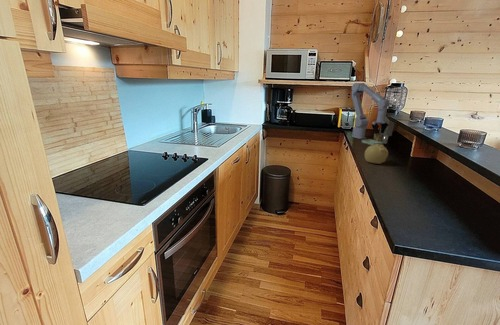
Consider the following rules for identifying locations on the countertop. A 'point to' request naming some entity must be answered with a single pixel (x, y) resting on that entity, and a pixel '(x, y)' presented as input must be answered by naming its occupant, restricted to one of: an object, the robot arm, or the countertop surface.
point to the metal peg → (385, 139)
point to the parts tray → (371, 142)
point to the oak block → (378, 137)
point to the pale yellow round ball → (376, 154)
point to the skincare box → (388, 128)
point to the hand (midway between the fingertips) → (378, 133)
